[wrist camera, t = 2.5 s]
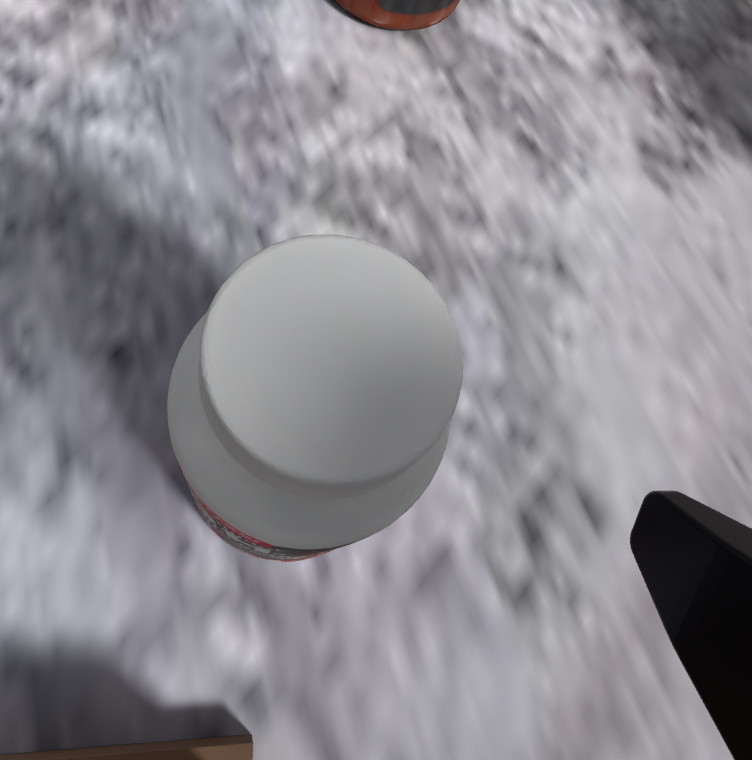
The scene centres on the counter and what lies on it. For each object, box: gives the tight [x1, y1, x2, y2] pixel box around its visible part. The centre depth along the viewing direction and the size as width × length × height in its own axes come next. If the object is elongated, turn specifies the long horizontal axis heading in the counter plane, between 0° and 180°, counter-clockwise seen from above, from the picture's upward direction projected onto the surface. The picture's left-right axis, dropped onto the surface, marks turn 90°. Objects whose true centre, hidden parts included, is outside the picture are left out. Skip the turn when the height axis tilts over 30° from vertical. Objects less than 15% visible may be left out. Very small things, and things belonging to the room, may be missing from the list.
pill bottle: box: [167, 235, 463, 562], centre depth 14 cm, size 5×5×10 cm
